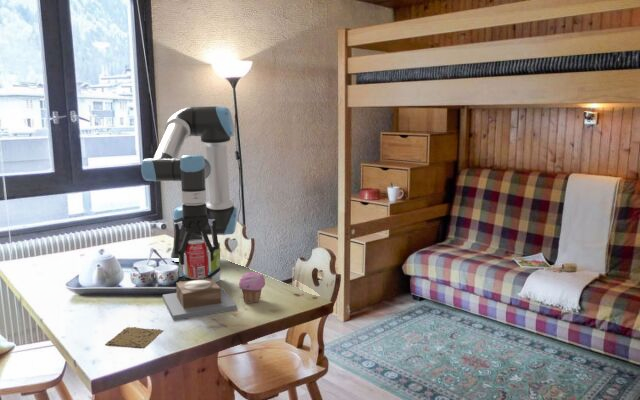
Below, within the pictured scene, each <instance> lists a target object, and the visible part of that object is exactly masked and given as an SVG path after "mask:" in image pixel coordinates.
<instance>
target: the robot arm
mask: <svg viewBox="0 0 640 400" xmlns="http://www.w3.org/2000/svg"><path fill="white" fill-rule="evenodd" d="M164 126H165V127H164V134H163V137H162V138H161V140H160V142H159V144H158V147H157V150H156V151H155V153H154V155H153V158H151V157H150V158H144V159H143V160H142V162H141V166H140V169H141V170H140V172H141V176H142V178H143V180H144V181H147V182H155V183H156V182H178V181H179V182H180V183H181V184H180V185H181V203H183V204H182V205H180V206H177V207H176V208H174V210H173V215H172V216H173V218H172V221H173V222H172V223H173V224H172V225H173V247H172V251H171V253H170V259H171V258H179V259H180V264H181V265H183V273H184V274H185V275H187V256H186V254H185V250H186V246H187V243H188V241H189V240H193V239H202V240H205V243H206V245H207V247H208V249H209V251H207V252H208V272H211V261H213V260H214V255H213V252H214V250H216V249H219V244H218V243H219V239H218V238H219V237H218V236H225V235H228V236H229V235H230V236H231V235H233V234H234V233H235V232H236V228H237V222H238V212H239V210H238V207H237V206H234V201H232V199H230V198H231V197H230V181H229V179H230V178H229V163H228V162H229V161H228V159H229V158H228V147H227V146H228V144H229V142H230V141H231V137H233V136H234V133H235V130H234V121H233V116H232V112H231V110H230V109H229V108H228V107H226V106H218V105H216V106H215V105H214V106H188V107H184V108H182V109H179V110H178V111H176V112H175V113H174V114H172V115H171V116H170V117H169V118H168V120H167V121H166V123H165V125H164ZM189 137H200V142H202V144H204V146H205V147H204V149H205V157H204V155H202V154H186V155H185V154H184V155H182V156H180V158H178V157H179V155H180V152H181V151H182V147H183V145H184V142H185V140H188V138H189ZM206 179H207V190H208V191H207V193H208V200H207V193H206ZM209 236H211V238H212V239H211V240H212V242H213V246H212V245H211V243H210V242H211V241H210V239H209Z"/></svg>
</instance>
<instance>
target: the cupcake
mask: <svg viewBox="0 0 640 400" xmlns="http://www.w3.org/2000/svg"><path fill="white" fill-rule="evenodd" d="M265 279H266V278H265V277H264V274H262V273H258V272H254V271H247V272H245V273H243V275H242V276H241V277H240V279H239V282H238V287H239V289H241V292H242V297H243V301H244V303H246V304H253V303H254V304H255V303H258V302H259V301H260V300H261V295H262V289H264V287H265V285H266V280H265Z"/></svg>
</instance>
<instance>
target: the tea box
mask: <svg viewBox="0 0 640 400" xmlns="http://www.w3.org/2000/svg"><path fill="white" fill-rule="evenodd" d="M210 243H211V245H212V246H213V241H210ZM218 244H219V249H216V250H214V252H213V255H214V260H213V261H211V272H208V275H207V276H205V277H204V278H202V279H205V278H212V279H213V280H214V281H215V282H216V283H217V282H219V281H220V280H221V243H220V242H218ZM207 251H209V249H208V247H207ZM178 274H179V276H178V278H179V280H178V282H184V281H191V280H198V279H191V278H190V277H188V276H187V275H185V274H184V273H183V265H181V264H180V259H179V263H178Z"/></svg>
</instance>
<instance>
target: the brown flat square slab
mask: <svg viewBox="0 0 640 400" xmlns="http://www.w3.org/2000/svg"><path fill="white" fill-rule="evenodd" d="M163 332H164V330H162V329H159V328H158V329H157V328H155V329H154V328H143V327H142V328H141V327H136V326H134V327H128V326H127V327H125V328H124V329H122V331H120V332H119V333H118V334H116V335H115V336H114V337H113V338H111V339H110V340H108V341H107V342H106V343H105V344H104V345H105V346H109V347H110V346H111V347H121V348H132V349H133V348H135V349H145V348H146V347H148V346H149V345H150V344H151V343H152V342H153V341H154V340H156V339H157V336H158V335H159V334H160V335H161V334H162V333H163ZM160 335H159V336H160ZM159 336H158V337H159Z"/></svg>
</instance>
